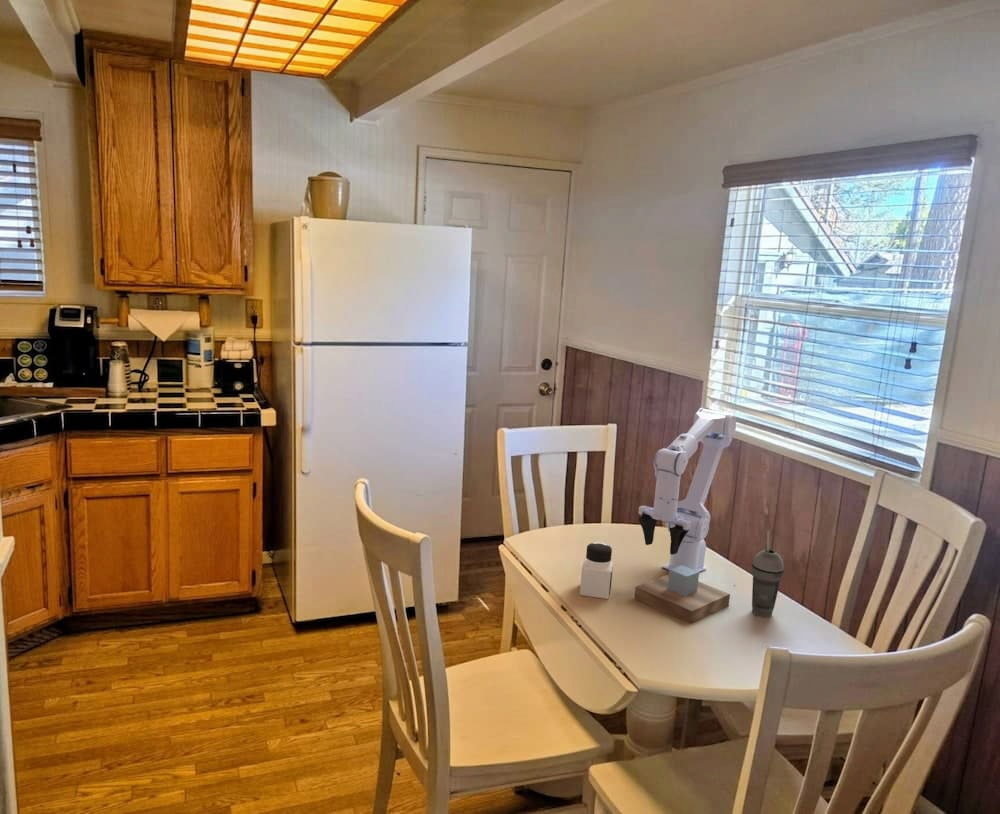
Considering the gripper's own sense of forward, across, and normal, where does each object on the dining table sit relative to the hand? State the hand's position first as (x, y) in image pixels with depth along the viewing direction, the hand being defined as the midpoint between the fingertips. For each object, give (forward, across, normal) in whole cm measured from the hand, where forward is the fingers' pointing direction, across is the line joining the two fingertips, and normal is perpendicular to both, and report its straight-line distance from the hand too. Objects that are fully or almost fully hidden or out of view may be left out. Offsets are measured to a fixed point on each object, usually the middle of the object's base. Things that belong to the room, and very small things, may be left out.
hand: (661, 548), depth 191 cm
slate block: (+6, +10, -4) cm, 12 cm away
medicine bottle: (+10, -6, -17) cm, 20 cm away
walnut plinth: (+9, +10, -4) cm, 14 cm away
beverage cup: (+10, +25, +7) cm, 28 cm away
